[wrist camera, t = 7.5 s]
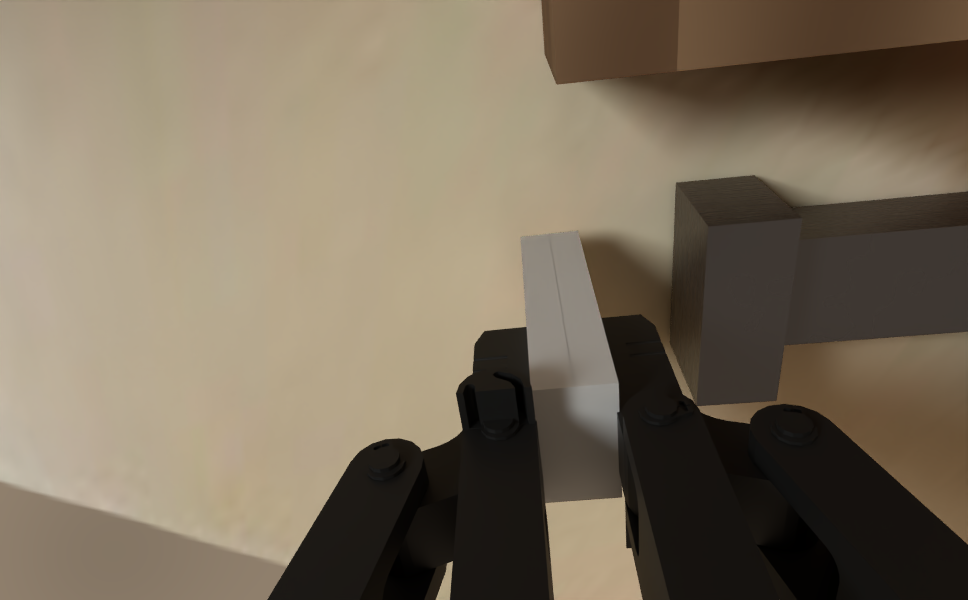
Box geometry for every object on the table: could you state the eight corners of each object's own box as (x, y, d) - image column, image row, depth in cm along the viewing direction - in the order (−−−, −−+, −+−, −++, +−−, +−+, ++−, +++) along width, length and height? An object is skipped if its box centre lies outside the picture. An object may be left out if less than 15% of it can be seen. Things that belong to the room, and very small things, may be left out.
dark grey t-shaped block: (670, 343, 19) (696, 406, 16) (676, 183, 16) (708, 226, 14) (1023, 316, 18) (1111, 377, 15) (1084, 143, 16) (1200, 182, 13)
